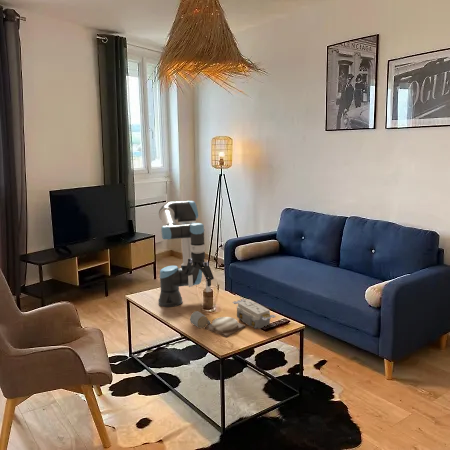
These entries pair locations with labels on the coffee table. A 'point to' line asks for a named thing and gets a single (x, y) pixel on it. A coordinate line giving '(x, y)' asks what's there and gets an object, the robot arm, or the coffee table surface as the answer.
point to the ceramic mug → (199, 319)
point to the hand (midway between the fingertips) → (199, 289)
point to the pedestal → (224, 326)
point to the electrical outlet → (253, 313)
